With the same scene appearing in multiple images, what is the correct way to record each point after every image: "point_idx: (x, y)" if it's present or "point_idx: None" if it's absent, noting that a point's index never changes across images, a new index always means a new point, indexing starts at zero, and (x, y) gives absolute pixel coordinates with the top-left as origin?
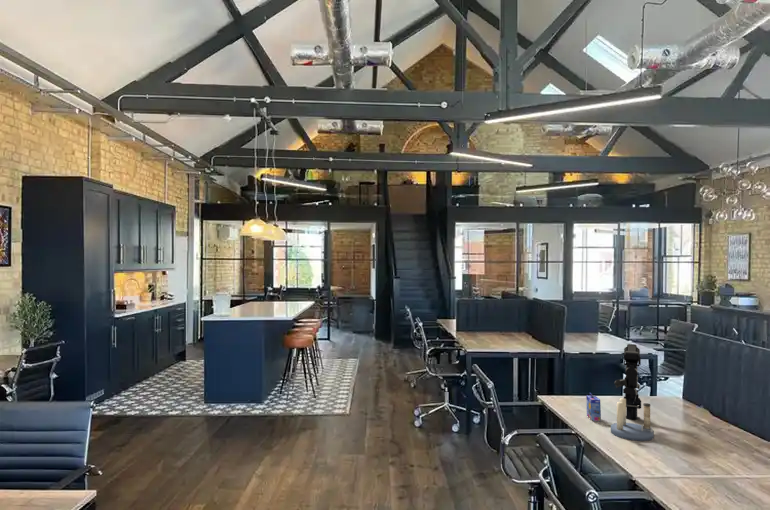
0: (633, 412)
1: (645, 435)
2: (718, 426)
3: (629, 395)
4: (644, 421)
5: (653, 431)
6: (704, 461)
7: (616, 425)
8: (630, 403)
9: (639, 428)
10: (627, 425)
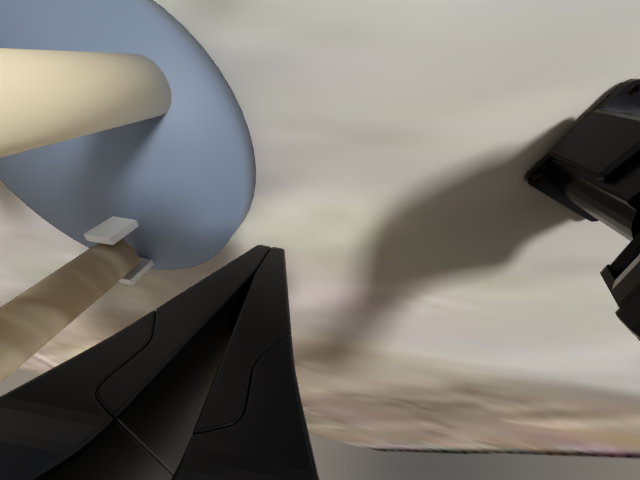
0: (596, 195)
1: (62, 226)
2: (469, 427)
3: (46, 411)
4: (59, 269)
5: (155, 268)
6: (66, 332)
7: (57, 19)
8: (251, 251)
9: (147, 208)
10: (148, 129)
